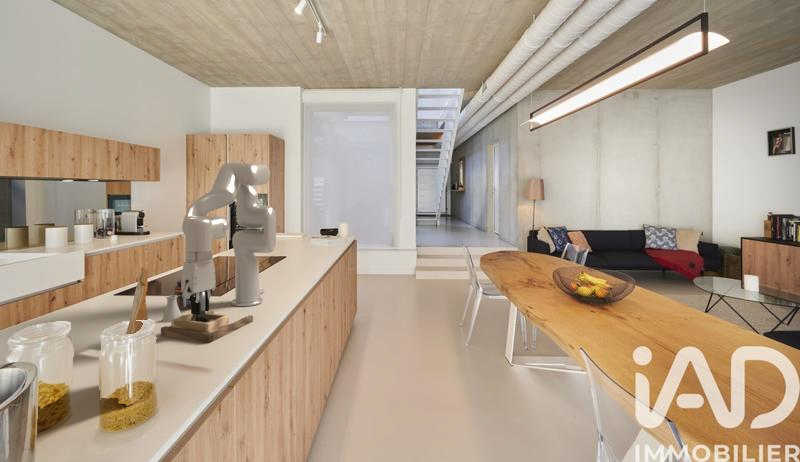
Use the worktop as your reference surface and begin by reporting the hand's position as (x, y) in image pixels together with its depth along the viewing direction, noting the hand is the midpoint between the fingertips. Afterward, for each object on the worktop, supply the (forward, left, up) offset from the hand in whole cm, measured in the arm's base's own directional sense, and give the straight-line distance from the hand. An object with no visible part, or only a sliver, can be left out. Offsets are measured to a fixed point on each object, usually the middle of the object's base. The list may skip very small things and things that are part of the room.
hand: (200, 311), depth 119 cm
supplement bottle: (-24, -30, -9) cm, 39 cm away
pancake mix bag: (+31, +11, -9) cm, 34 cm away
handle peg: (0, 0, -5) cm, 5 cm away
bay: (-4, 0, -8) cm, 9 cm away
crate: (0, 0, -7) cm, 7 cm away
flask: (-8, -19, -9) cm, 22 cm away
